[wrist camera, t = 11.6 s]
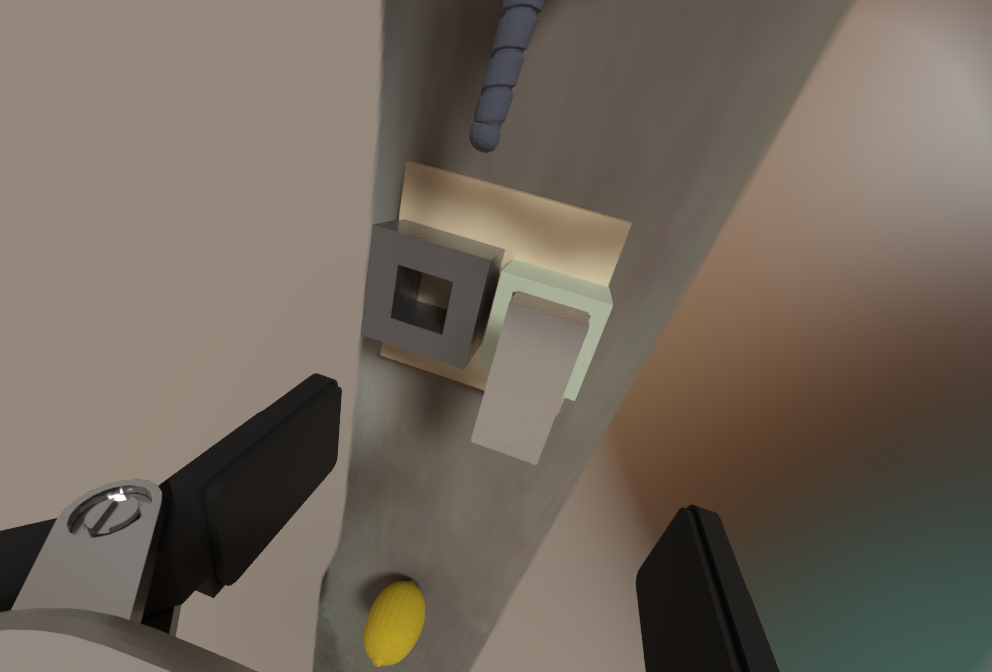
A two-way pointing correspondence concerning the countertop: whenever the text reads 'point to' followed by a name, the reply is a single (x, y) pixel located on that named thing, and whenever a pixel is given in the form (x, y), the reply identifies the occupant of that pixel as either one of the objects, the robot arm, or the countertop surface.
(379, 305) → the block
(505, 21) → the toy drill
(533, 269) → the pale green hollow frame
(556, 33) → the countertop surface
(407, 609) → the lemon
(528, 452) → the light grey block
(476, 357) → the board
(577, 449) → the countertop surface
